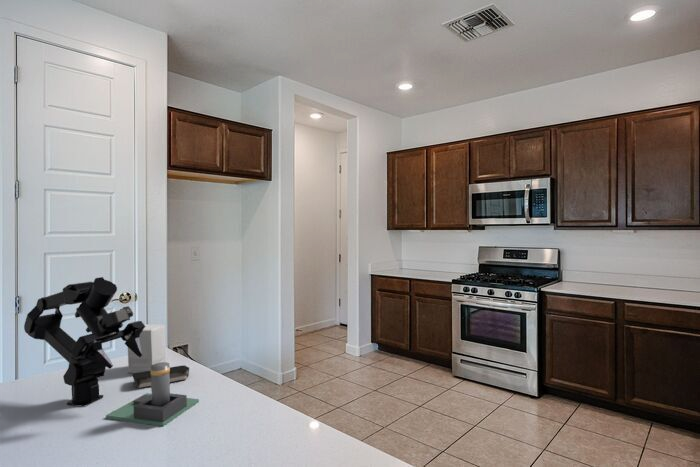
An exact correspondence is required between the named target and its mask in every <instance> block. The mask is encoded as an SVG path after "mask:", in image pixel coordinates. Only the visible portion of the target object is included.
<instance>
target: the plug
mask: <svg viewBox="0 0 700 467" xmlns="http://www.w3.org/2000/svg"><path fill="white" fill-rule="evenodd" d="M170 366H171V365H170V363H169V362H167V361H166V362H161V363H156V364H153V365H152V366H151V386H150V388H151V394H152V406H158V407H163V406H165V405H166V404H168V403H169V402H170V393H171V387H170V386H171V384H170V383H171V382H170V374H169V372H170Z"/></svg>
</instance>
